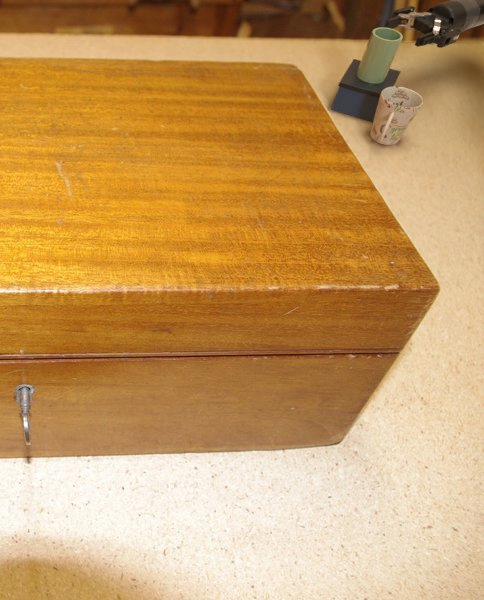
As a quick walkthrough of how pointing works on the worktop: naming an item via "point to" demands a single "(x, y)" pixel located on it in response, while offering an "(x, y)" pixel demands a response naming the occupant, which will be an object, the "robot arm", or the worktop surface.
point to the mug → (394, 114)
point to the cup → (379, 55)
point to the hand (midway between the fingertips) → (402, 33)
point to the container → (360, 93)
